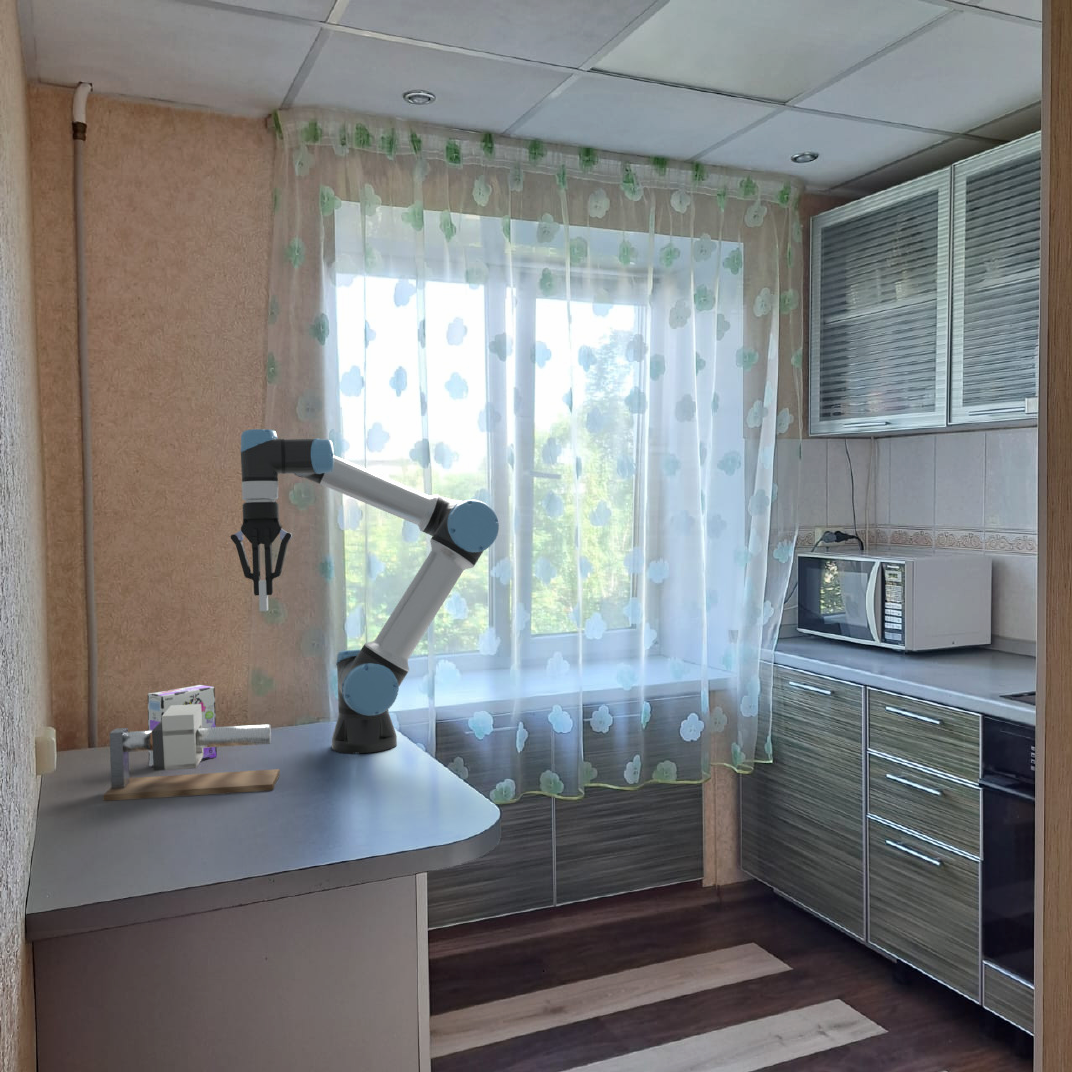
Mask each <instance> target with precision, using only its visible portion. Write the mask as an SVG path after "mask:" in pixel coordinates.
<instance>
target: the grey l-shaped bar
mask: <svg viewBox="0 0 1072 1072" xmlns="http://www.w3.org/2000/svg"><path fill="white" fill-rule="evenodd" d="M195 736H196V748H209V747H217V748H223V747H240V746H241V747H242V746H243V747H244V746H257V745H258V746H259V745H270V744H271V741H272V726H271V724H270V723H269V724H268V723H267V724H266V723H265V724H250V725H249V724H247V725H246V724H245V725H234V726H233V725H231V726H229V725H228V726H216V727H208V728H198V730H197V731H196V733H195ZM149 751H153V743H152V731H148V730H135V731H129V728H128V727H124V728H123V727H122V728H121V727H120V728H115V729H113V730H111V731H110V732H109V755H110V757H109V758H110V782H111V783H110V788H111V789H121V788H125V787H126V786H127V785H128V784H129V783H130V782H129V778H130V761H129V760H130V757H129V753H135V752H149Z"/></svg>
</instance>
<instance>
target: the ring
mask: <svg viewBox="0 0 1072 1072" xmlns="http://www.w3.org/2000/svg"><path fill="white" fill-rule="evenodd" d="M152 743H153V766H154V767H153V771H156V772H157V771H166V770H165V768H164V749H163V730H162V721H161V722H160V723H159V724H158V725H157V726H156V727H155V728H154V729H153V730H152Z"/></svg>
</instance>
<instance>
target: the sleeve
mask: <svg viewBox="0 0 1072 1072" xmlns="http://www.w3.org/2000/svg"><path fill="white" fill-rule="evenodd" d="M198 728H202V711H201V704H191V705H171V706H170V707H169V708H168V709H167V711H166V712H165V713H164V714H163V715H162V730H163V749H164V768H165V770H164V771H176V770H177V771H178V770H194V769H195V770H196V769H197V767H198V766H199V765H200V762H201V759H202V758H203V756H204V752H203V748H196V736H195V733H196V731H197V730H198Z"/></svg>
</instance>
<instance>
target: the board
mask: <svg viewBox="0 0 1072 1072" xmlns="http://www.w3.org/2000/svg"><path fill="white" fill-rule="evenodd" d="M279 777H280V768H277V769H258V770H245V771H244V770H243V771H242V770H241V771H228V772H225V771H224V772H212V773H209V772H207V773H193V774H178V775H174V774H173V775H159V776H145V777H129V782H130V783H129V784H128V785H127V786H126V787H125V788H121V789H111V787H110V788H109V789H108V790H107V791H105V793H104V794H103V797H102V798H103V799H102V801H103V802H109V801H123V800H139V799H142V800H143V799H154V798H155V799H159V798H171V797H186V796H187V797H189V796H202V795H206V796H207V795H218V794H220V795H221V794H234V793H250V792H251V793H252V792H266V791H267V792H268V791H273V790H274V789H275V786H276V784H277V782H278V778H279Z"/></svg>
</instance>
